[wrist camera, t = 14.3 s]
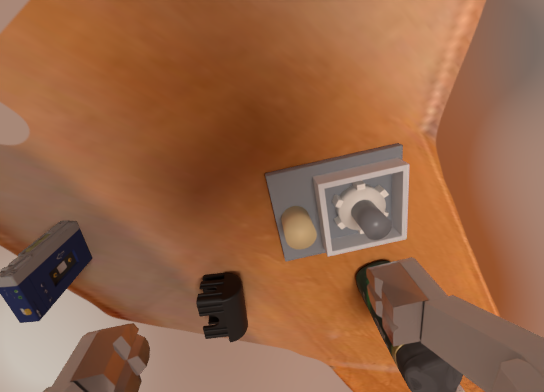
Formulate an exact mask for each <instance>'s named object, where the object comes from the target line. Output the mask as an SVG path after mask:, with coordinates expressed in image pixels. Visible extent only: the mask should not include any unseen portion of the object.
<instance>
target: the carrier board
mask: <svg viewBox="0 0 544 392" xmlns="http://www.w3.org/2000/svg"><path fill="white" fill-rule="evenodd" d="M402 150H403V145H401V144H399V143H397V144H392V145H388V146H383V147H379V148H375V149H370V150H366V151H361V152H357V153H353V154H348V155H344V156H339V157H335V158H331V159H326V160H322V161H317V162H313V163H308V164H304V165H300V166H295V167H291V168H286V169H282V170H278V171H273V172H269V173H265V176H266V180H267V184H268V189H269V193H270V197H271V201H272V206H273V210H274V214H275V218H276V223H277V227H278V231H279V235H280V239H281V244H282V248H283V252H284V256H285V261H290V260H294V259H299V258H303V257H308V256H312V255H317V254H321V253H327V256H332V255H337V254H341V253H346V252H350V251H355V250H360V249H364V248H369V247H373V246H378V245H382V244H387V243H391V242H396V241H400V240H405V239H407V217H408V189H409V164H408V163H407V162H405V161H403V160H402ZM361 180H362V181H363V182H364V183H365V184H368V185H371V186H372V187H374V188H375V187H376V186H378V185H380V186H382V187H383V188H384V189H385V190H386V191H387V193H388V194H389V195H388V196H386V197H385V198H384V199H385V202H386V209H385V210H386V211H387V212H388V213H389V214H388V216H387V218H388V219H389V220H390V221H391V224H392V228H391V231H390V232H389V234H388V235H387V236H385V237H384V238H382V239H379V240H371V239H369V238H368V237H367V236H366V235H365V233H364V234H360V233H359V232H358V230H352V229H350V228H348V227H345V228H343V229H341V228H340V227H339V226H338V225H337V224H336V222H335V220H334V218H336V217H337V216H338V215H337V212H336V207H335V206H334V204H333V203H332V200H333V197H334V195H339V196H340V194H341V193H342V192H343V191H344V190H345V189H347V188H348V187H350V186H353V183H352V182H356V181H361Z"/></svg>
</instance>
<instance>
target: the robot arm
mask: <svg viewBox="0 0 544 392" xmlns="http://www.w3.org/2000/svg"><path fill="white" fill-rule="evenodd" d="M366 275H367V278H368V280H369V282H370V283H369V284H368V285H367V289H368V295H369V299H370V302H371V304H372V307H373V309H374V311H375V313H376V314H377V315H378V316H380V317H381V318H382V322H383V328H384V330H385V332H386V334H387V336H388V338H389V339H390V341H391V343H392V345H393V346H399V345H404V344H409V343H414V342H419V341H421V343H422V344H423V345H425V346H426V347H427V348H429V349H430V350H431V351H433V352H434V353H435V354H437V355H438V356H439V357H440V358H442V359H443V360H444V361H446V362H447V363H448V364H450V365H451V366H452V367H454V368H455V369H456V370H458V371H459V372H460V373H462V374H463V375H464V376H466V377H467V378H468V379H469V380H471V381H472V382H473V383H475V384H476V385H477V386H479V387H480V388H481V389H483V390H484V391H485V392H544V338H543V337H540V336H538V335H536V334H534V333H532V332H530V331H528V330H526V329H524V328H522V327H519V326H517V325H515V324H513V323H511V322H509V321H506V320H505V319H502V318H500V317H498V316H496V315H494V314H492V313H490V312H488V311H485V310H483V309H481V308H479V307H477V306H475V305H473V304H471V303H469V302H466V301H464V300H462V299H460V298H458V297H456V296H454V295H452V296H447V294H446V293H445V292H444V291H443V290H442V289H441V288H440V287H439V285H438V284H437V283H436V282H435V281H434V280H433V279H432V277H431V276H430V275H429V274H428V273H427V272H426V271H425V270H424V268H423V267H422V266H421V265H420V264H419V263H418V262H417V261H416V259H414V258H412V257H411V258H407V259H403V260H399V261H394V262H390V263H386V264H382V265H378V266H374V267H369V268H367V270H366ZM138 330H139V329H138V328H137V327H136V326H135V324H126V325H122V326H116V327H111V328H106V329H102V330H98V331H93V332H89V333H87V334H86V335H84V336H83V337H82V338H81V340H80V342H79V343H78V345H77V346H76V348H75V350H74V351H73V353H72V355H71V356H70V358H69V360H68V361H67V363H66V364H65V366H64V368H63V369H62V371H61V372H60V374H59V376H58V377H57V379H56V381H55V382H54V384H53V385H52V387H48V388H46V389H45V390H44V391H43V392H138V390H139V387H140V384H141V378H140V374H141V373H142V371H143V370H144V369H145V368H146V366H147V363H148V360H149V351H150V347H149V344H148V341H147V340H146V338H145V337H143V336H141V335H138V334H137V333H138Z"/></svg>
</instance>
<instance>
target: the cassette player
mask: <svg viewBox="0 0 544 392" xmlns="http://www.w3.org/2000/svg"><path fill="white" fill-rule="evenodd" d="M91 259H92V257H91V254H90V252H89V250H88V247H87V245H86V242H85V240H84V238H83V235H82V233H81V231H80V228H79V226H78V224H77V221H72V222H69V221H60V222H59V223H57V224H56V225H55V226H54V227H52V228H51V229H50V230H49V231H47V232H46V233H45V234H43V235H42V236H41V237H40V238H38V239H37V240H36V241H35V242H33V243H32V244H31V245H29V246H28V247H27V248H26V249H24V250H23V251H22V252H21V253H19V254H18V257H17V258H16V259H14V260H13V261H12V262H11V263H10V264H9V265H8V267H4V268H2V269H1V272H0V294H1V295H2V297H3V298H4V300H5V301H6V302H7V304H8V306H9V307H10V308H11V310H12V311H13V313H14V314H15V316H16V317H17V319H18V320H19V322H20V323H23V322H34V321H39V320H40V319H41V318H42V317H43V316H44V315H45V314H46V312H47V311H48V310H49V309H50V308H51V306H52V305H53V304H54V303H55V302H56V301H57V299H58V298H59V297H60V296H61V295H62V293H63V292H64V291H65V290H66V289H67V288H68V286H69V285H70V284H71V283H72V282H73V280H74V279H75V278H76V277H77V276H78V275H79V273H80V272H81V271H82V270H83V269H84V267H85V266H86V265H87V264H88V263H89V262H90V260H91Z"/></svg>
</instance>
